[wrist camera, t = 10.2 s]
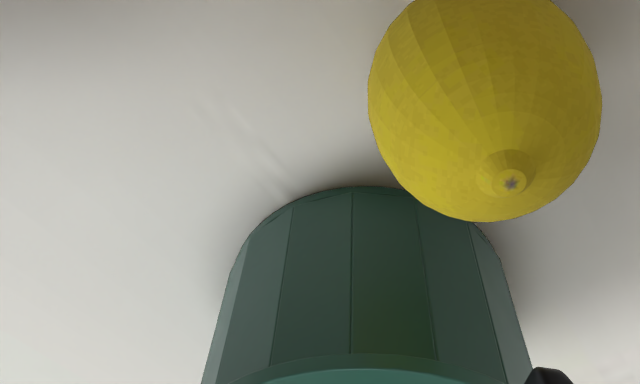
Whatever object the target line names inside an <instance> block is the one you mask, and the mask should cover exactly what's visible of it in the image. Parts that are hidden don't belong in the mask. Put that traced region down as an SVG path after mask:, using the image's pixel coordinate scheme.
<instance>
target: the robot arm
mask: <svg viewBox="0 0 640 384" xmlns="http://www.w3.org/2000/svg"><path fill="white" fill-rule="evenodd" d="M524 384H573V383H572V381H571V380H570V379H569V378H568V377H567V376H566V375H565V374H564V373H563V372H562V371H560V370H557V369H550V368H543V367H536V368H534V369H533V370H532V371H531V372H530V374H529V376H528V377H527V379H526V381H525V382H524Z"/></svg>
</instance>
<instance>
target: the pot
mask: <svg viewBox="0 0 640 384" xmlns="http://www.w3.org/2000/svg"><path fill="white" fill-rule="evenodd" d="M357 353H373V354H393V355H403V356H411V357H418V358H426V359H431V360H436V361H440V362H444V363H449V364H453V365H457V366H461V367H464V368H467V369H470V370H473V371H476V372H479V373H482V374H485V375H487V376H489V377H491V378H493V379H496V380H498V381H500V382H502V383H504V384H524V382H525V381H526V379H527V377H528V376H529V374H530V372H531V371H532V370H533V368H532V365H531V361H530V358H529V355H528V351H527V348H526V345H525V341H524V338H523V335H522V331H521V328H520V325H519V321H518V318H517V315H516V311H515V308H514V305H513V301H512V298H511V295H510V291H509V288H508V285H507V282H506V278H505V275H504V272H503V268H502V265H501V262H500V258H499V257H498V256H497V255H496V254H495V252H494V250H493V248H492V246H491V244H490V243H489V241H488V240H487V239H486V237H485V236H484V235H483V233H482V232H481V231H480V230H479V229H478V228H477V227H476V226H475V225H474V224H473V223H472V222H470V221H465V220H461V219H457V218H453V217H449V216H446V215H444V214H442V213H440V212H438V211H436V210H434V209H431V208H429V207H427V206H425V205H423V204H422V203H421V202H420V201H419V200H418V199H416V198H415V197H414V196H413V195H412V194H411V193H409V192H408V191H406V190H402V189H395V188H388V187H373V186H358V187H344V188H338V189H333V190H327V191H322V192H319V193H316V194H313V195H309V196H306V197H304V198H301V199H299V200H297V201H294V202H292V203H290V204H288V205H286V206H284V207H283V208H281V209H279V210H278V211H276V212H274V213H273V214H272V215H270V216H269V217H268V218H267V219H265V220H264V221H263V222H262V223H260V225H259V226H258V227H257V228H256V229H255V230H254V231H253V232H252V233H251V234H250V235H249V237H248V238H247V240H246V241H245V243H244V244H243V246H242V248H241V250H240V252H239V254H238V256H237V259H236V262H235V264H234V266H233V268H232V270H231V272H230V275H229V278H228V282H227V286H226V290H225V294H224V297H223V301H222V305H221V309H220V313H219V316H218V320H217V324H216V328H215V332H214V336H213V339H212V343H211V347H210V351H209V355H208V358H207V362H206V366H205V370H204V374H203V377H202V381H201V384H228V383H230V382H232V381H235V380H237V379H239V378H241V377H243V376H245V375H248V374H250V373H252V372H255V371H258V370H261V369H264V368H267V367H270V366H273V365H276V364H280V363H285V362H290V361H294V360H299V359H303V358H310V357H318V356H326V355H334V354H357Z"/></svg>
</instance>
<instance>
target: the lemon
mask: <svg viewBox="0 0 640 384" xmlns="http://www.w3.org/2000/svg"><path fill="white" fill-rule="evenodd" d="M601 111H602V95H601V89H600V84H599V80H598V75H597V70H596V66H595V62H594V58H593V55H592V53H591V51H590V49H589V47H588V46H587V44H586V42H585V40H584V39H583V37H582V35H581V34H580V32H579V30H578V28H577V27H576V25H575V24H574V22H573V21H572V19H570V18H569V17H568V16H567V15H566V14H565V13H564V12H563V11H562V10H561V9H559V8H558V7H557V6H556V5H555V4H554V3H553V2H551V1H550V0H415V1H413V2H412V3H410V4H409V5H408V6H407V7H406V8H405V9H404V11H403V12H402V13H401V14H400V15H399V16H398V17H397V18H396V19H395V20H394V21H393V22H392V24H391V25H390V26H389V28H388V30H387V31H386V33H385V35H384V37H383V39H382V40H381V42H380V44H379V46H378V48H377V50H376V52H375V56H374V60H373V63H372V67H371V71H370V75H369V79H368V114H369V120H370V123H371V127H372V130H373V133H374V136H375V140H376V143H377V146H378V149H379V151H380V153H381V155H382V157H383V159H384V161H385V162H386V164H387V165H388V167H389V168H390V170H391V171H392V173H393V174H394V176H395V177H396V179H397V180H398V182H399V183H400V184H401V186H403V187H404V188H405V189H406V190H407V191H408V192H409V193H411V194H412V195H413V196H414V197H415V198H416V199H418V200H419V201H420V202H421V203H422V204H423V205H425V206H427V207H429V208H431V209H434V210H436V211H438V212H440V213H442V214H444V215H446V216H449V217H453V218H457V219H461V220H465V221H470V222H495V221H502V220H508V219H514V218H517V217H520V216H523V215H525V214H528V213H531V212H534V211H536V210H538V209H539V208H541V207H543V206H544V205H546V204H548V203H550V202H551V201H553V200H555V199H556V198H557V197H558V196H559V195H561V194H562V193H563V192H564V191H565V190H566V189H567V188H568V187H569V186H571V185H572V184H573V183H574V181H575V180H576V178H577V177H578V176H579V174H580V173H581V171H582V170H583V169H584V167H585V166H586V164H587V163H588V161H589V159H590V157H591V154H592V152H593V149H594V147H595V144H596V142H597V139H598V136H599V131H600V122H601Z"/></svg>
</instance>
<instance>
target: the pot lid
mask: <svg viewBox="0 0 640 384" xmlns="http://www.w3.org/2000/svg"><path fill="white" fill-rule="evenodd" d="M228 384H504V383H502V382H500V381H498V380H496V379H493V378H491V377H489V376H487V375H485V374H482V373H479V372H476V371H473V370H470V369H467V368H464V367H461V366H457V365H453V364H449V363H444V362H440V361H436V360H431V359H426V358H418V357H411V356H403V355H393V354H373V353H357V354H334V355H326V356H318V357H310V358H303V359H299V360H294V361H290V362H285V363H280V364H276V365H273V366H270V367H267V368H264V369H261V370H258V371H255V372H252V373H250V374H248V375H245V376H243V377H241V378H239V379H237V380H235V381H232V382H230V383H228Z"/></svg>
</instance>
